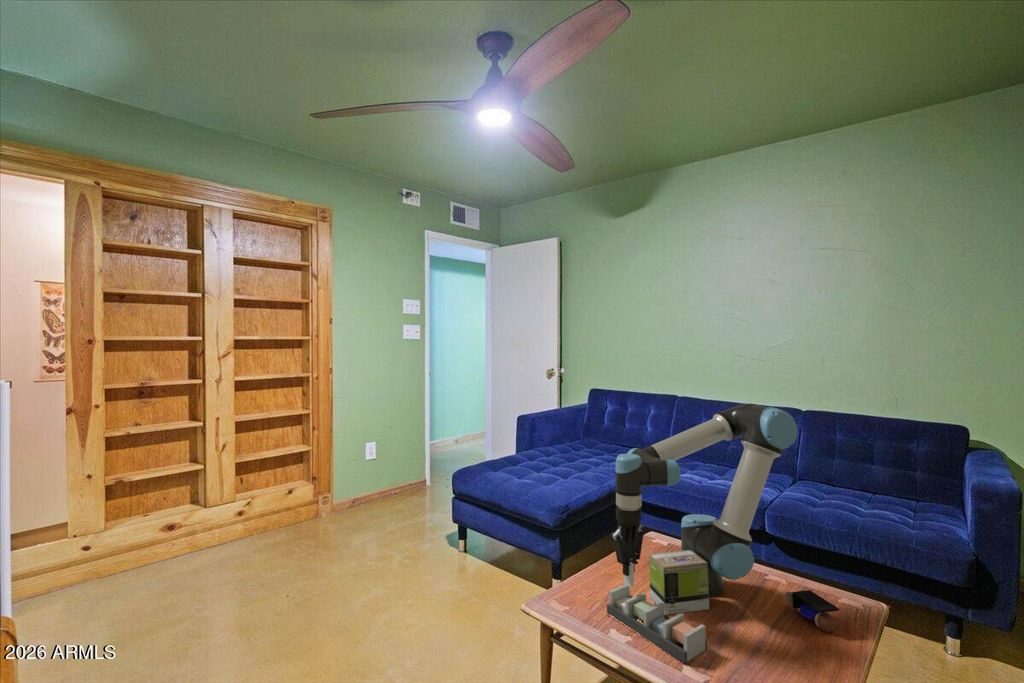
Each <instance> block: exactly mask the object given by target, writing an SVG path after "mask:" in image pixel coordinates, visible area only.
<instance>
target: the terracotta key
mask: <svg viewBox="0 0 1024 683" xmlns="http://www.w3.org/2000/svg"><path fill="white" fill-rule="evenodd" d="M694 628H695V627H694V626H692V625H689V623H686V622H685V621H684V622H683V621H681V622H680V623H678V624H676V625H674V626H672V638H674V639H675V640H677V641H679V642H680V643H682V644H684V634H686V633H687V632H689V631H691V630H693V629H694Z"/></svg>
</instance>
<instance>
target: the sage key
mask: <svg viewBox="0 0 1024 683" xmlns="http://www.w3.org/2000/svg"><path fill="white" fill-rule="evenodd" d="M653 606H655V605H654V604H652V603H650V602H648V601H647V600H646V601H645V600H642V601H640V602H638V603H636V604H633V614H634V615H636V616H637V617H639V618H641V619H642V620H643V611H645V610H647V609H649V608H651V607H653Z"/></svg>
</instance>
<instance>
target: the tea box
mask: <svg viewBox="0 0 1024 683" xmlns="http://www.w3.org/2000/svg"><path fill="white" fill-rule="evenodd" d="M649 592H650V593H649V594H650V599H651V600H652V601H654V602H655V603H656V604H655V603H654V602H653V603H654V604H655V605H657V604H659V603H661V602H662V603H664V615H665V614H667V615H674V614H680V613H682V614H684V613H689V612H690V613H691V612H699V611H706V610H710V596H709V581H708V563H707V562H706V561H705V560H703V559H702V558H701V557H699V556H698V555H697V554H695V553H694V552H693V551H691V550H684V551H682V550H678V551H667V552H659V553H658V552H657V553H649Z"/></svg>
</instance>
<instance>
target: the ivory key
mask: <svg viewBox="0 0 1024 683" xmlns="http://www.w3.org/2000/svg"><path fill="white" fill-rule="evenodd" d="M628 599H630V598H628V597H625V598H623V599H620V600H618V601H616V608H617V609H619V610H620V611H622V612H624V613H625V601H626V600H628Z"/></svg>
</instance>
